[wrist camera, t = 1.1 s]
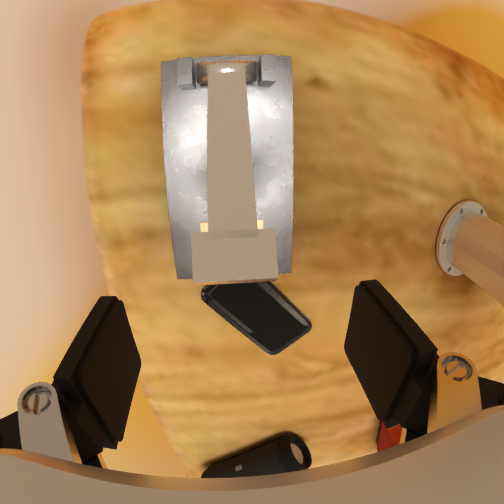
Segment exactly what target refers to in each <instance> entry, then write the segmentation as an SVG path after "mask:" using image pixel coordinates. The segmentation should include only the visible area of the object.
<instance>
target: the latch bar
mask: <svg viewBox="0 0 504 504" xmlns="http://www.w3.org/2000/svg"><path fill="white" fill-rule="evenodd" d="M196 78H197V84H204V83H208V102H207V214H208V232H195V233H191V234H192V274H193V283H194V284H195V285H214V284H232V283H249V282H265V281H275V280H277V279H278V278H279V275H278V263H277V251H276V240H275V229H274V228H270V229H258V223H257V210H256V197H255V185H254V172H253V160H252V148H251V136H250V124H249V112H248V101H247V89H246V82H256V80H257V62H256V60H244V61H215V62H200V63H197V64H196Z"/></svg>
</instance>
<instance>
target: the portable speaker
mask: <svg viewBox="0 0 504 504" xmlns="http://www.w3.org/2000/svg"><path fill="white" fill-rule="evenodd" d="M311 463H312V458H311V454H310V451H309V449H308V447H307V446H306V444H305V443H304V442H303V441H302V440H301V439H300V438H299V437H297V436H287V437H281V438H279V439H277V440H274V441H272V442H270V443H268V444H265V445H263V446H261V447H259V448H256V449H254V450H251V451H249V452H246V453H244V454H241V455H239V456H236V457H234V458H231V459H228V460H225V461H223V462H220V463H217V464H214V465H211V466H209V467H208V468H207V469H206V470H205V471H204V472H203V474H202V476H201V478H236V477H251V476H263V475H272V474H280V473H287V472H294V471H300V470H306V469H308V468H309V467H310V466H311Z"/></svg>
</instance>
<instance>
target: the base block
mask: <svg viewBox="0 0 504 504" xmlns="http://www.w3.org/2000/svg"><path fill="white" fill-rule="evenodd" d="M244 60H256V62H257V80H256V82H246V89H247V101H248V112H249V124H250V136H251V148H252V160H253V172H254V185H255V197H256V210H257V223H258V229H270V228H274V229H275V240H276V251H277V263H278V274H280V273H291V264H292V233H293V88H292V59H291V57H288V56H276V55H265V54H261V55H236V56H212V57H199V58H192V57H188V58H178V59H177V60H171V61H163V62H161V102H162V130H163V149H164V164H165V177H166V189H167V200H168V209H169V219H170V228H171V236H172V244H173V251H174V259H175V266H176V273H177V279H192V278H193V274H192V234H191V233H195V232H208V214H207V102H208V83H204V84H197V78H196V64H197V63H200V62H215V61H244Z"/></svg>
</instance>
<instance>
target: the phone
mask: <svg viewBox="0 0 504 504" xmlns="http://www.w3.org/2000/svg"><path fill="white" fill-rule="evenodd" d="M201 298H202V300H203V301H204V302H205V303H206V304H207V305H208V306H210V307H211V308H212V309H213V310H214V311H216V312H217V313H218V314H219V315H220V316H222V317H223V318H224V319H225V320H226V321H228V322H229V323H230V324H231V325H232V326H234V327H235V328H236V329H237V330H239V331H240V332H241V333H242V334H244V335H245V336H246V337H247V338H249V339H250V340H251V341H252V342H254V343H255V344H256V345H258V346H259V347H260V348H261V349H263V350H264V351H265V352H267V353H268V354H270V355H275V354H278V353H280V352H281V351H283V350H284V349H285V348H287V347H288V346H290V345H291V344H293V343H294V342H295V341H297V340H298V339H300V338H301V337H302V336H304V335H305V334H306V333H308V332H309V331H310V330H311V328H312V324H311V322H310V320H309V319H308V318H307V317H306V316H305V315H304V314H303V313H302V312H301V311H300V310H299V309H298V308H297V307H296V306H295V305H294V304H293V303H292V302H291V301H290V300H289V299H288V298H287V297H286V296H284V295H283V294H282V293H281V292H280V291H279V290H278V289H277V288H276V287H275V286H274V285H273V284H272V283H271V282H270V281H265V282H249V283H232V284H214V285H206V286H205V287H204V288H203V289H202V292H201Z"/></svg>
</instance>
